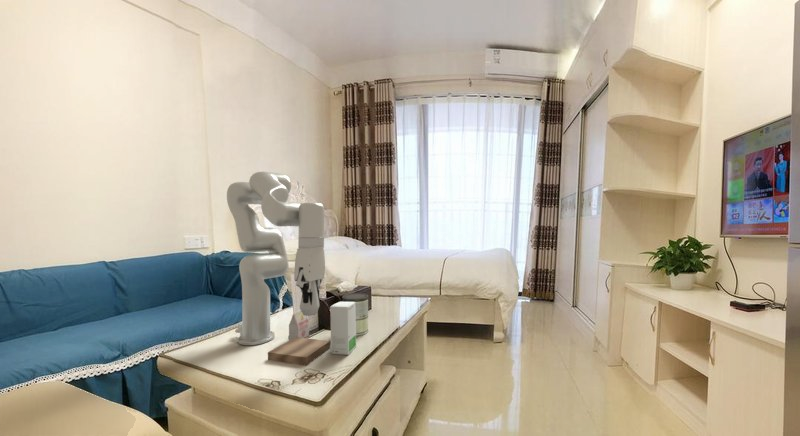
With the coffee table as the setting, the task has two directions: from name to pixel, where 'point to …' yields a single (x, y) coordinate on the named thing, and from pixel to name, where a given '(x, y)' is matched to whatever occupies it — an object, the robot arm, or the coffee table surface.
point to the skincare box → (343, 328)
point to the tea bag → (299, 326)
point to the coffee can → (359, 311)
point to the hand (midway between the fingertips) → (310, 303)
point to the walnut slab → (299, 351)
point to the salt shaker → (310, 303)
